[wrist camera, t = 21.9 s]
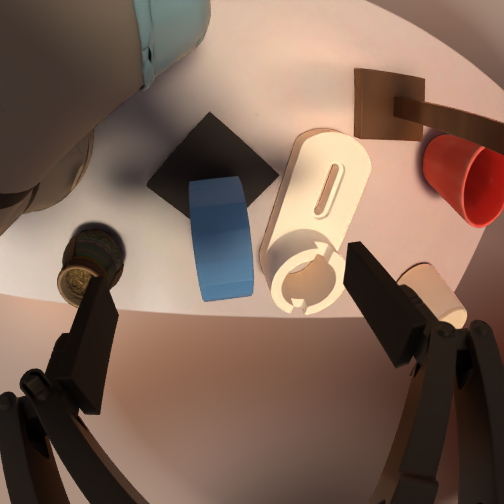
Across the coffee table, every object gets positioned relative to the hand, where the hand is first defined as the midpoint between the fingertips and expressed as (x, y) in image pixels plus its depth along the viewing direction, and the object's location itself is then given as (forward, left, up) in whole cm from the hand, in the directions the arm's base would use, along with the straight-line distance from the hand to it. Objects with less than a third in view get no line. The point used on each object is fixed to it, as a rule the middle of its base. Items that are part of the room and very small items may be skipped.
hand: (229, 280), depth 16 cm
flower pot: (+20, +23, -19) cm, 36 cm away
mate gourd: (-5, -15, -19) cm, 25 cm away
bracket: (+11, +4, -19) cm, 22 cm away
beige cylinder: (+37, +8, -8) cm, 38 cm away
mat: (0, 0, -19) cm, 19 cm away
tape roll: (+3, -3, -13) cm, 13 cm away
